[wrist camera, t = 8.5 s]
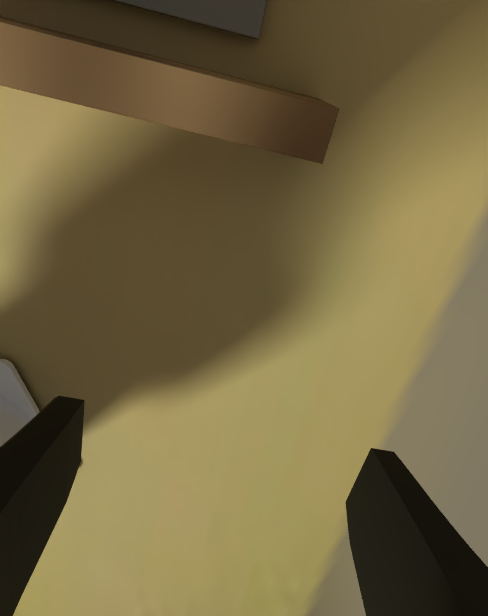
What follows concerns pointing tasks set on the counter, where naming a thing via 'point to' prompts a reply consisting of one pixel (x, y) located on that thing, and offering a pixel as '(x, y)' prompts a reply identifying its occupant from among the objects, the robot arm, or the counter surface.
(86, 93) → the walnut screen
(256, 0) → the mat
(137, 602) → the counter surface
